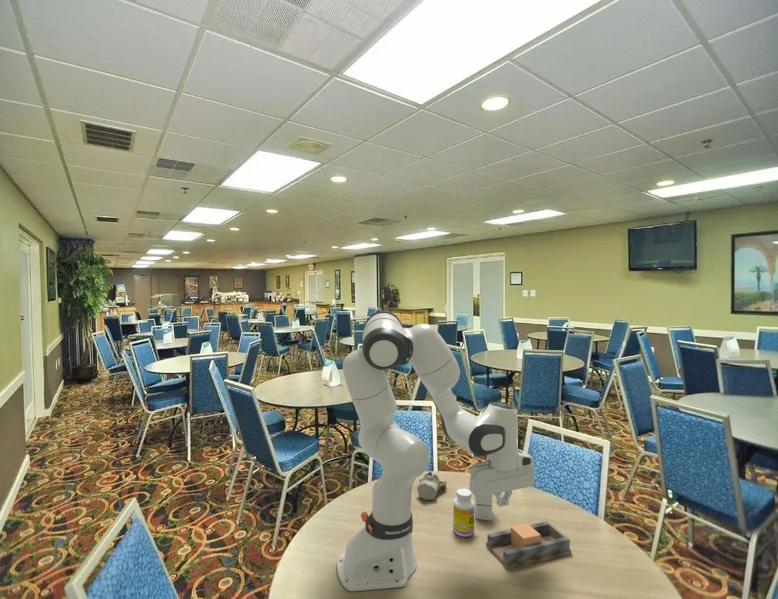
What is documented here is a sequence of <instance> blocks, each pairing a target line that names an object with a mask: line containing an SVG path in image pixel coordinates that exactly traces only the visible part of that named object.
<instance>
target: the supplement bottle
mask: <svg viewBox="0 0 778 599" xmlns="http://www.w3.org/2000/svg"><path fill="white" fill-rule="evenodd" d="M452 517H453V518H452V519H453V520H452V521H453V524H452V525H453V526H452V527H453V532H454V534H456V535H458V536H459V537H464V538H467V537H471V536H473V535H474V532H475V500H474V499H472V492H471V491H470V489H467V488H458V489H457V490H456V497H454V498H453V516H452Z"/></svg>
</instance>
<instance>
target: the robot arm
mask: <svg viewBox="0 0 778 599" xmlns="http://www.w3.org/2000/svg"><path fill="white" fill-rule="evenodd" d="M361 343H362V344H361V347H360V348H357V349H355V350H353V351H351V352H350V353H348V354H347V355H346V356H345V358H344V360H343V361H342V371H343V372H342V373H343V375H344V380H345V384H346V387H347V391H348V393H349V396H350V398H351V401H352V403H353V404H352V405H353V406H354V409H355V411H356V414H357V417H358V420H359V424H360V429H359V431H358V435H357V436H358V437H357V438H358V439H357V440H358V444H359V446H360V448H361V449H362V450H363V451H364V452H365V454H366V455H367V456H368V457H369V458H371V459H372V460H374V461H375V462H377V463H378V464H380V465H381V469H382V475H381V478H379V479H377V480H376V481H375V483H374V484H373V486H372V489H371V490H372V494H371V495H372V498H371V500H372V501H371V502H372V503H371V504H372V506H371V508H372V509H371V513H370V515H368V512H367V511H362V512H361V514H360V518H361V520H362V522H364V523H365V525H364V527H362V529H360V530H359V531H358V532H357V533H356V534H354V535H352V537H350V538H349V540H348V541H347V544H346V546H345V552H342V553H341V554H339V556H338V558H337V560H336V573H337V577H338V580H339V582H340V584H341V585H342V587H344V588H345V590H347V591H349V592H359V591H372V590H382V589H391V588H392V589H394V588H403V587H405V586H406V585H407V583H408V580H409V578H410V577H411V576H412V575H413V573H414V572H415V571H416V568H417V565H418V564H417V563H418V562H417V560H416V556H415V552H414V546H413V528H414V519H413V512H412V493H413V492H412V490H413V485H414V484H415V480H416V479H417V478H419V477H420V476H421V475H422V474H424V473H425V471H426V469H427V468H428V466H429V463H430V449H429V448H428V446H427V444H426V443H425V442H423V441H422V440H421V439H420V438H419V437H418V436H417V435H415V434H413V433H410V432H409V431H407V430H404V429H402V428H401V427H400V426H398V425H397V423H396V421H395V419H394V415H395V413H396V411H397V407H398V406H397V405H398V404H397V401H396V398H395V395H394V393H393V390H392V386H391V384H390V381H389V379H388V375H387V374H386V370H392V369H394V368H396V367H398V366H402V365H406V364H408V363H410V365H411V366H412V368H413V370H414V372H415V374H416V375H417V377H418V378H419V380H420V381H421V382H422V384H423V386H424V387H425V388H426V390H427V392H428V394H429V396H430V398H431V400H432V403H433V404H434V406H435V408H436V410H437V411H438V414H439V416H440V420H441V421H440V422H441V428H442V431H443V434H444V436H445V437H446V438H447V439H448V440H450V441H451V442H453V443H455V444H457V445H459V446H460V447H462V448H463V449H464V450H466V451H468V452H469V453H471V454H473V455H475V456H477V457H485V456H486V460H483V461H480V462H479V461H478V462H475V463H474V464H473V465H472V466H471V467H470V476H469V490H470V491H471V494H472V495H474V497H475V496H476V497H482V496H487V495H492V496H493V495H494V497H495V499H496V505H497V506H498V507H499V508H500V507H505V506H509V502H510V501H509V500H510V498H511V497H512V495H513V491H516V490H521V489H525V488H530V487H533V486H534V484H536V483H535V482H536V472H535V467H534V457H533V456H531V455H530V454H528V452H525V451H524V450H522V449H519V446H518V442H517V441H518V437H519V423H518V422H519V421H518V415H517V411H516V409H515V408H514V406H512V405H509V404H507V403H504V402H500V401H499V402H498V401H492V402H489V403H488V406H487V408H486V409H485V410H484V411H483V412H482V413H480V414H479V415H475V414H473V413H470V412H469V411H467V410H466V409H464V408H463V407H462V406H460V405H459V402H458V401H457V398H456V397H455V394H454V393H453V391H452V388H454V387H455V386H456V385H457V382H458V381H459V379H460V375H461V369H460V366H459V363H458V360H457V359H456V357H455V355H454V354H453V352H452V350H451V348H450V347H449V345H448V344H447V342H446V341H445V339H444V338H443V337H442V335H441V334H440V333H439V332H438V331H437V330H436V329H435V327H434V326H433V325H431V324H428V323H418V324H415V325H414V326H412V327H403V324H402V322H401V320H400V318H399V317H398V316H397V315H396V314H395V313H392V312H391V311H387V310H381V311H380V310H379V311H376V312H374V313H373V314H371V315H370V316H369V317H368V318H367V319H366V321H365V324H364V327H363V331H362V338H361ZM502 493H503V496H502Z"/></svg>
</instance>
